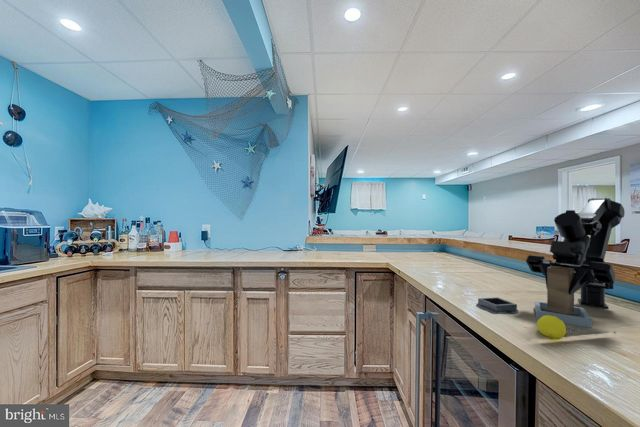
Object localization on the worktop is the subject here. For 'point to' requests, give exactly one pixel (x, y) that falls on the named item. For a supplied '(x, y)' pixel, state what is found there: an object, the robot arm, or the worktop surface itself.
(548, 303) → the post
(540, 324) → the lemon
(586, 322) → the tray
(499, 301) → the base
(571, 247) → the robot arm
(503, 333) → the worktop surface
